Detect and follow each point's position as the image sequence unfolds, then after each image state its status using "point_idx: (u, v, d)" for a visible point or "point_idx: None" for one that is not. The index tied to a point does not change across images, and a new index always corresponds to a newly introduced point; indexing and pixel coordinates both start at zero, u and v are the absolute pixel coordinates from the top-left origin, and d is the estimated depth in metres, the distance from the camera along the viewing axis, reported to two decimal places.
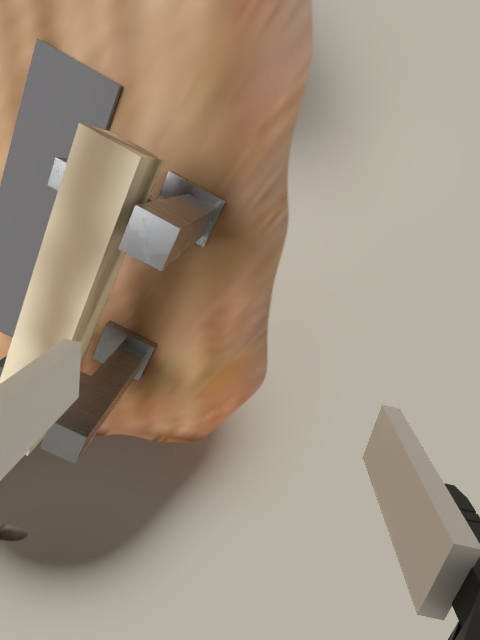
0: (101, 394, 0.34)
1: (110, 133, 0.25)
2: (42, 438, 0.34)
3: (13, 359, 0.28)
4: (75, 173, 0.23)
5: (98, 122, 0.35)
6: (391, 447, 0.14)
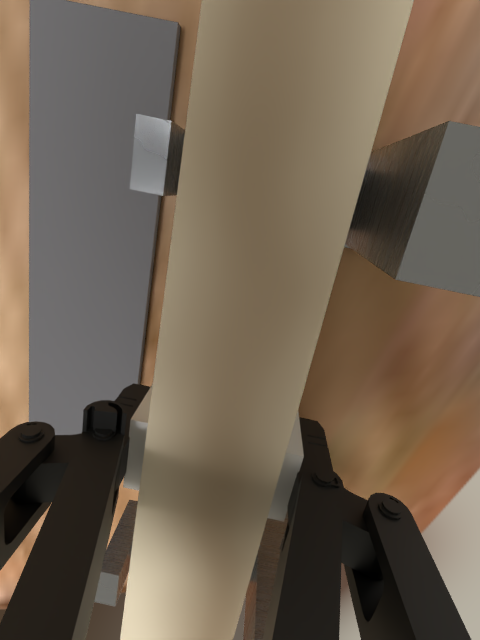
0: None
1: None
2: None
3: (142, 585, 0.13)
4: (221, 103, 0.08)
5: (155, 99, 0.21)
6: None
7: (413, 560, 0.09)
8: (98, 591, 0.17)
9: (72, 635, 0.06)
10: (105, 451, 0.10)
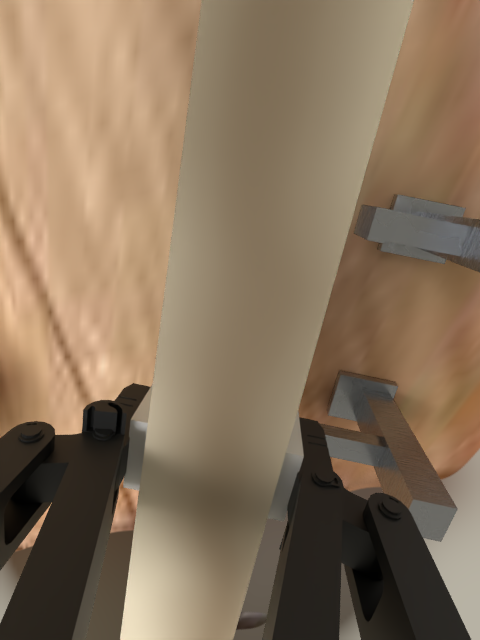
0: (412, 453, 0.30)
1: None
2: None
3: (142, 586, 0.13)
4: (221, 105, 0.08)
5: None
6: None
7: (413, 560, 0.09)
8: None
9: (72, 635, 0.06)
10: (105, 451, 0.10)
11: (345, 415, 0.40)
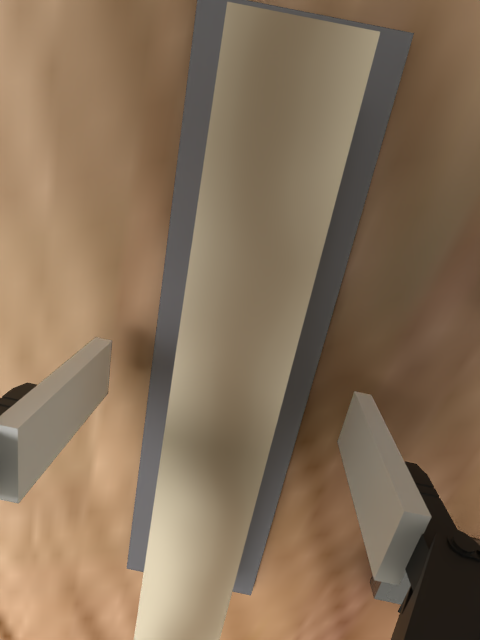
0: None
1: None
2: None
3: (164, 518, 0.15)
4: (233, 125, 0.11)
5: (362, 140, 0.15)
6: (360, 430, 0.15)
7: None
8: None
9: None
10: None
11: None
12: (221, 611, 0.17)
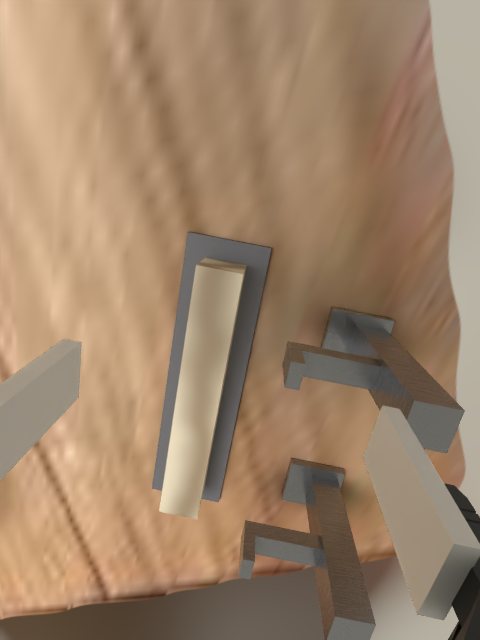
0: (345, 557, 0.32)
1: (208, 260, 0.34)
2: (200, 503, 0.41)
3: (174, 444, 0.36)
4: (199, 298, 0.32)
5: (255, 285, 0.36)
6: (391, 448, 0.14)
7: None
8: (241, 570, 0.31)
9: None
10: None
11: (298, 500, 0.43)
12: (200, 489, 0.38)
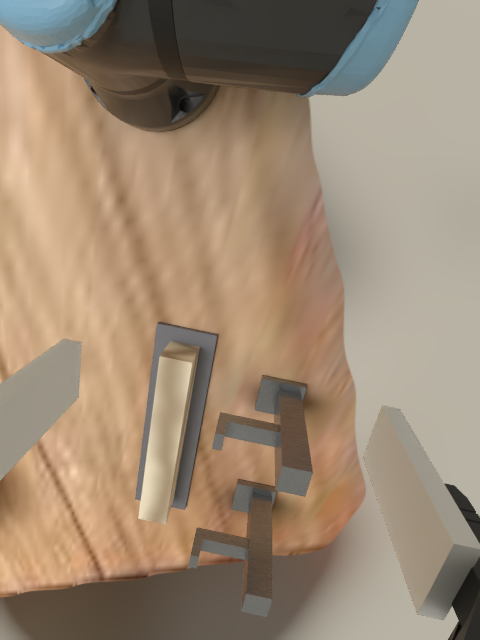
0: (263, 554, 0.47)
1: (171, 346, 0.48)
2: (169, 511, 0.55)
3: (148, 472, 0.51)
4: (162, 377, 0.46)
5: (206, 360, 0.50)
6: (391, 448, 0.14)
7: None
8: (190, 562, 0.46)
9: None
10: None
11: (243, 509, 0.57)
12: (167, 504, 0.52)
